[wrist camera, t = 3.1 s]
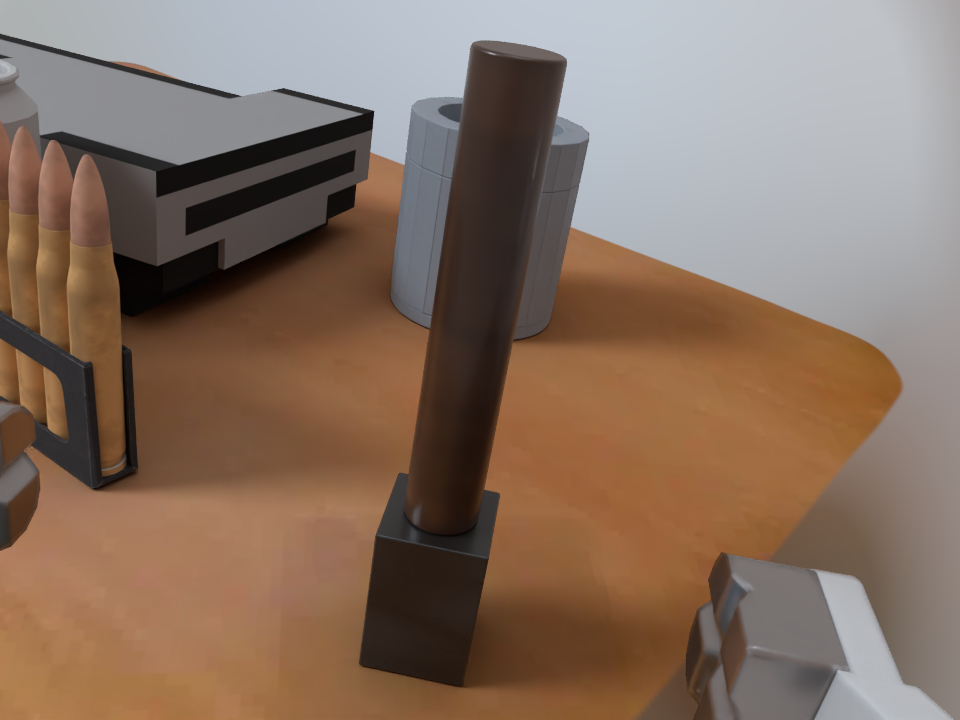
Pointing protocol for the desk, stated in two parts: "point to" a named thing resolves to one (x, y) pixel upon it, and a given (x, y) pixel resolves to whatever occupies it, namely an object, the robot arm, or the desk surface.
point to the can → (17, 106)
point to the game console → (193, 164)
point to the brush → (464, 371)
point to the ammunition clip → (63, 312)
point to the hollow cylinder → (428, 208)
